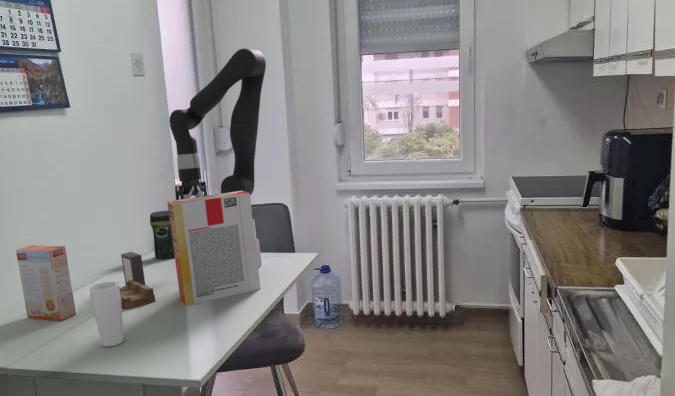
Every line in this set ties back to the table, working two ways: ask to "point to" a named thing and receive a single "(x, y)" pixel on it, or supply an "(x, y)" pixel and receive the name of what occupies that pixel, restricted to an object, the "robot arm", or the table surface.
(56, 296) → the cracker box
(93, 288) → the drinking glass
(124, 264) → the dark grey block
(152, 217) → the coffee jar
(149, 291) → the wooden channel tray
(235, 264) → the pasta box
